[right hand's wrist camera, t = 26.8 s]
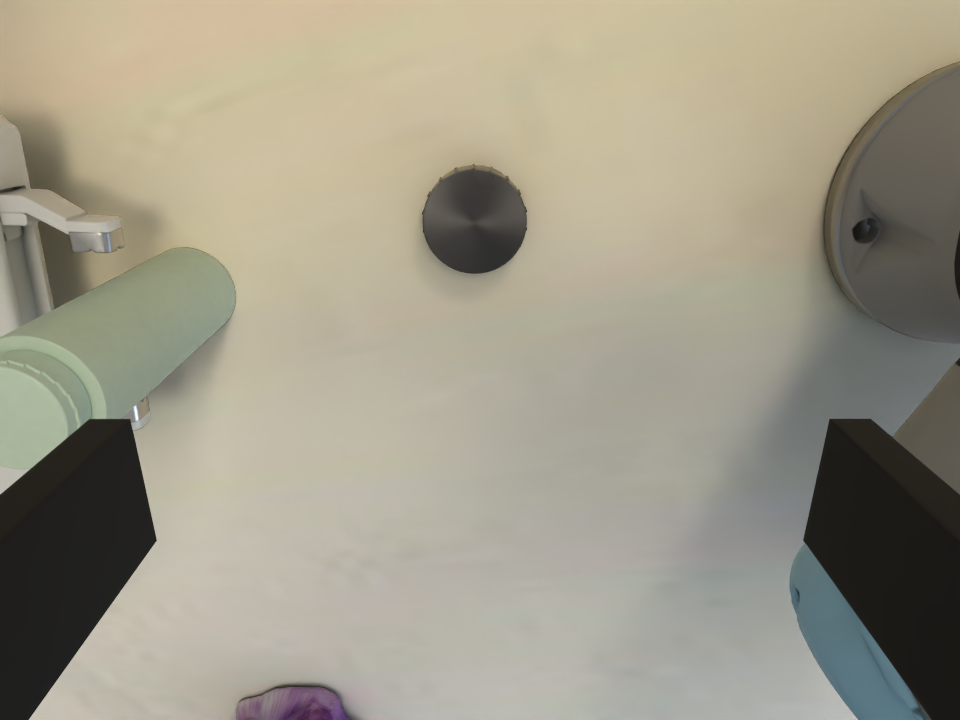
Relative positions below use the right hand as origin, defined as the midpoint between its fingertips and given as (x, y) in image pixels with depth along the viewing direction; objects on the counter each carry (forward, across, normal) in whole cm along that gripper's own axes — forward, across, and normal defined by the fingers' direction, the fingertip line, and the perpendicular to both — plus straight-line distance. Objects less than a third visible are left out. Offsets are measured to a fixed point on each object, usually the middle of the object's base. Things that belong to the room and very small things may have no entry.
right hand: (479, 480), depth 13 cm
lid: (+26, 0, 0) cm, 26 cm away
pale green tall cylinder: (+27, +17, +4) cm, 33 cm away
